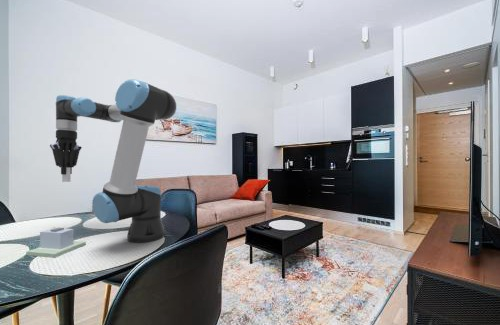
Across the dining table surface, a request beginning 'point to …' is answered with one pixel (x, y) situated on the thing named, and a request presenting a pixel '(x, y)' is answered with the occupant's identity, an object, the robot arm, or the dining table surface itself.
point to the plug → (56, 238)
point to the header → (54, 250)
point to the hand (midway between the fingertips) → (66, 181)
